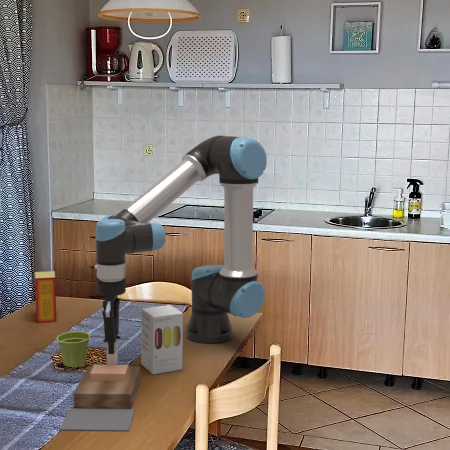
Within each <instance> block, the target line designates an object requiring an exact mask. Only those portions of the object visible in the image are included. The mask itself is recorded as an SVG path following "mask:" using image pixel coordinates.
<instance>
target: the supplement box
mask: <svg viewBox="0 0 450 450" xmlns="http://www.w3.org/2000/svg"><path fill="white" fill-rule="evenodd" d="M140 312H141V313H140V314H141V318H140V321H141V323H140V324H141V325H140V326H141V327H140V328H141V329H140V330H141V332H140V333H141V338H140V340H141V341H140V343H141V344H140V346H141V349H140V350H141V352H140V356H141V358H140V360H141V362H140V363H141V365H142V367H144V368H145V369H146V370H147V371H149V373H151V375H159V374H163V373H164V374H165V373H169V372H176V371H180V370H181V371H182V370H183V342H184V341H183V339H184V336H183V334H184V331H183V329H184V326H183V324H184V314H183V312H182V311H181V310H179V309H177V308H176V307H174V306H173V305H171V304H169V305H168V304H167V305H159V306H152V307H142V308H141V311H140Z"/></svg>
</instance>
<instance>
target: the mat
mask: <svg viewBox="0 0 450 450" xmlns="http://www.w3.org/2000/svg"><path fill="white" fill-rule="evenodd" d="M135 410H136V409H135V408H131V409H93V408H74V407H73V408H71V407H70V408H69V409H68V411H67V413H66V416H65V417H64V419H63V421H62V423H61V425H60V426H59V431H76V432H77V431H78V432H81V431H86V432H89V431H90V432H92V431H93V432H94V431H95V432H130V429H131V425H132V421H133V418H134V414H135Z"/></svg>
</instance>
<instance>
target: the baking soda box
mask: <svg viewBox="0 0 450 450" xmlns="http://www.w3.org/2000/svg"><path fill="white" fill-rule="evenodd" d="M55 273H56V272H55V270H47V271H35V272H34V286H35V288H34V289H35V309H36V312H35V313H36V314H35V315H36V324H44V323H45V324H46V323H57V301H56V300H57V299H56V297H57V296H56V293H57V292H56V274H55Z"/></svg>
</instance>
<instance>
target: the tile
mask: <svg viewBox="0 0 450 450" xmlns="http://www.w3.org/2000/svg"><path fill="white" fill-rule="evenodd" d="M93 366H94V367H93V369H92V371H91V373H90V381H126V378H127V375H128V372H129V364H117V365H107V364H94V365H93Z"/></svg>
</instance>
